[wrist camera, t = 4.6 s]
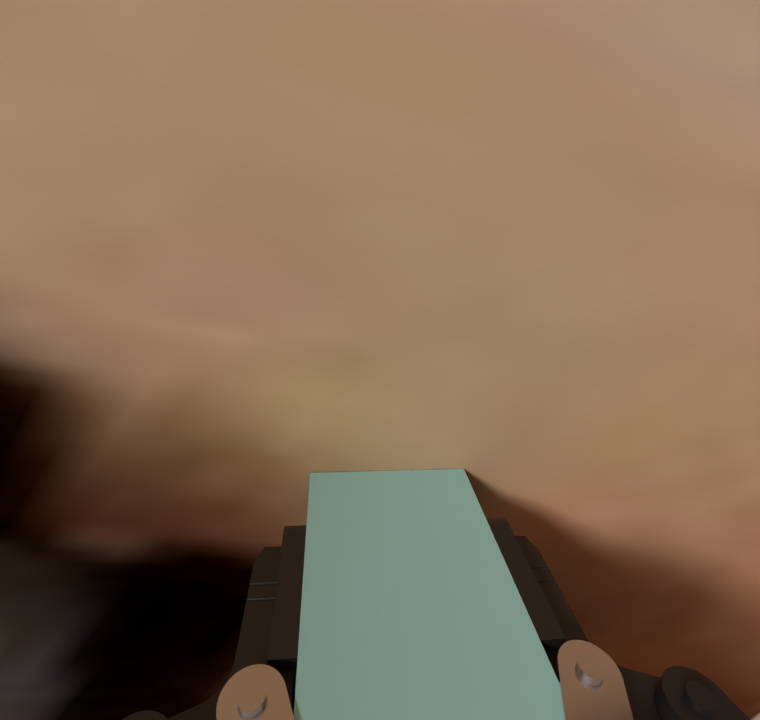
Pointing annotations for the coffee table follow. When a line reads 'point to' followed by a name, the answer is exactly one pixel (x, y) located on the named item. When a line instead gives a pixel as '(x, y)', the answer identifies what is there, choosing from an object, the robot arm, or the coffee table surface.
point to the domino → (412, 607)
